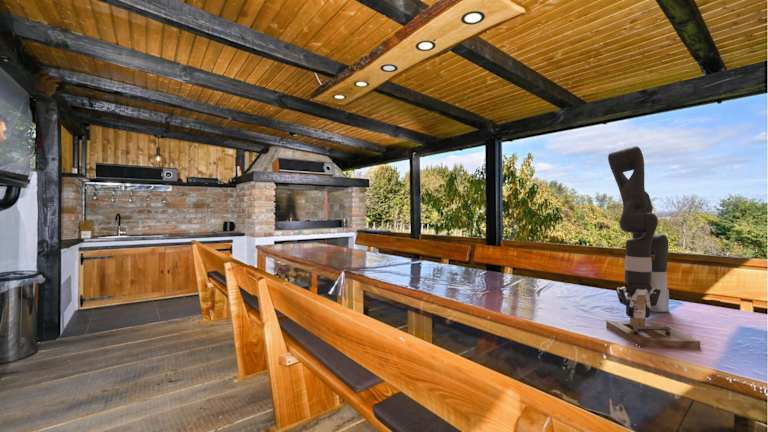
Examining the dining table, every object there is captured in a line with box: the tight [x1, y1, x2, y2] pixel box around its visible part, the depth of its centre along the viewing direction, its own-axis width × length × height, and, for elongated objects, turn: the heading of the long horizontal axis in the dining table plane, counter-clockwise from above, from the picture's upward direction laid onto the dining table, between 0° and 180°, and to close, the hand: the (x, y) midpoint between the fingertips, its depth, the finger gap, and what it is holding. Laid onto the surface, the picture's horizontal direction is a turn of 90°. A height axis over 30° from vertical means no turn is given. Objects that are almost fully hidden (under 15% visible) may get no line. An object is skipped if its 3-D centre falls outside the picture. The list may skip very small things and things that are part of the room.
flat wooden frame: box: [606, 320, 701, 350], centre depth 112 cm, size 18×18×2 cm
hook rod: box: [633, 325, 672, 336], centre depth 108 cm, size 11×1×3 cm, turn 85°
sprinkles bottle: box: [629, 289, 647, 326], centre depth 115 cm, size 5×5×14 cm
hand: (637, 316), depth 115 cm, fingers closed on sprinkles bottle, 4 cm apart
